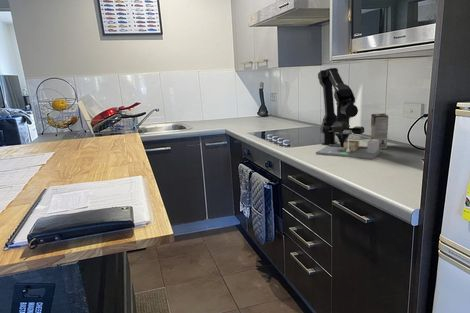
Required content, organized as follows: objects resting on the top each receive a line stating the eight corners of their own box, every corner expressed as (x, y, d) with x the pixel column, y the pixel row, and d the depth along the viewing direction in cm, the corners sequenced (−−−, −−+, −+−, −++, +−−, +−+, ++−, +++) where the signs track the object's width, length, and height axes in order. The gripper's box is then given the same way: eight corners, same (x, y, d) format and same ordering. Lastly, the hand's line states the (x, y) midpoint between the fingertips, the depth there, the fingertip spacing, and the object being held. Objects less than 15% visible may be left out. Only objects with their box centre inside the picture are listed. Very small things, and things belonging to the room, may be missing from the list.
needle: (347, 151, 152) (347, 137, 151) (350, 151, 152) (350, 137, 150) (346, 151, 151) (346, 138, 150) (348, 152, 150) (349, 138, 149)
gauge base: (328, 147, 171) (328, 136, 169) (381, 151, 155) (381, 139, 154) (315, 154, 159) (315, 141, 158) (372, 159, 144) (372, 145, 142)
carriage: (348, 147, 163) (348, 139, 162) (359, 148, 160) (359, 140, 159) (340, 152, 154) (340, 144, 153) (350, 153, 151) (351, 145, 150)
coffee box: (370, 145, 171) (370, 113, 167) (383, 144, 169) (384, 113, 166) (373, 148, 162) (374, 116, 158) (387, 148, 161) (389, 115, 157)
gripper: (317, 116, 157) (317, 148, 160) (357, 117, 145) (356, 152, 149) (326, 113, 165) (326, 144, 169) (365, 114, 154) (364, 147, 158)
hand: (342, 147), depth 161 cm, fingers closed
